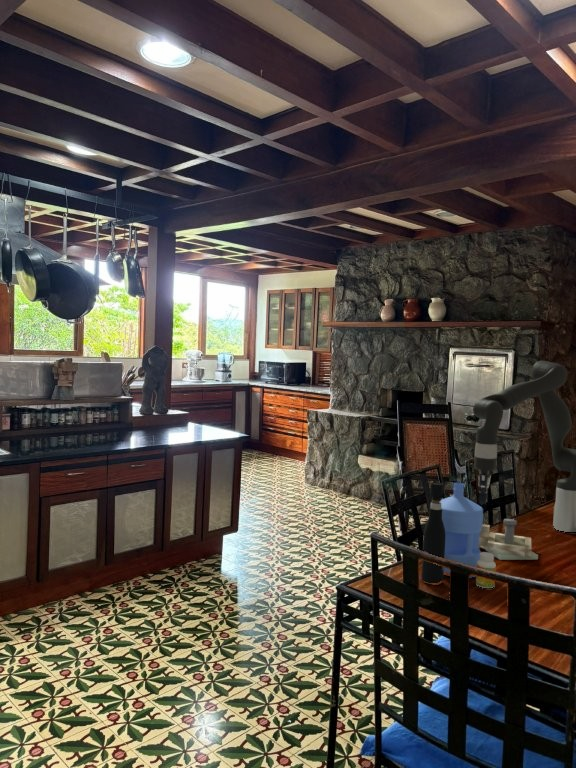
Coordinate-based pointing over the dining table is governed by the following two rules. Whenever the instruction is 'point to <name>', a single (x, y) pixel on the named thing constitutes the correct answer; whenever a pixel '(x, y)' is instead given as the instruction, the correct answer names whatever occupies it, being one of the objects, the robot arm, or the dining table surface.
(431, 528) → the wine bottle
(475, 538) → the water jug
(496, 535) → the birch loop
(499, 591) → the dining table surface
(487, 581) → the supplement bottle
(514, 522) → the post base plate
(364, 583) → the dining table surface
